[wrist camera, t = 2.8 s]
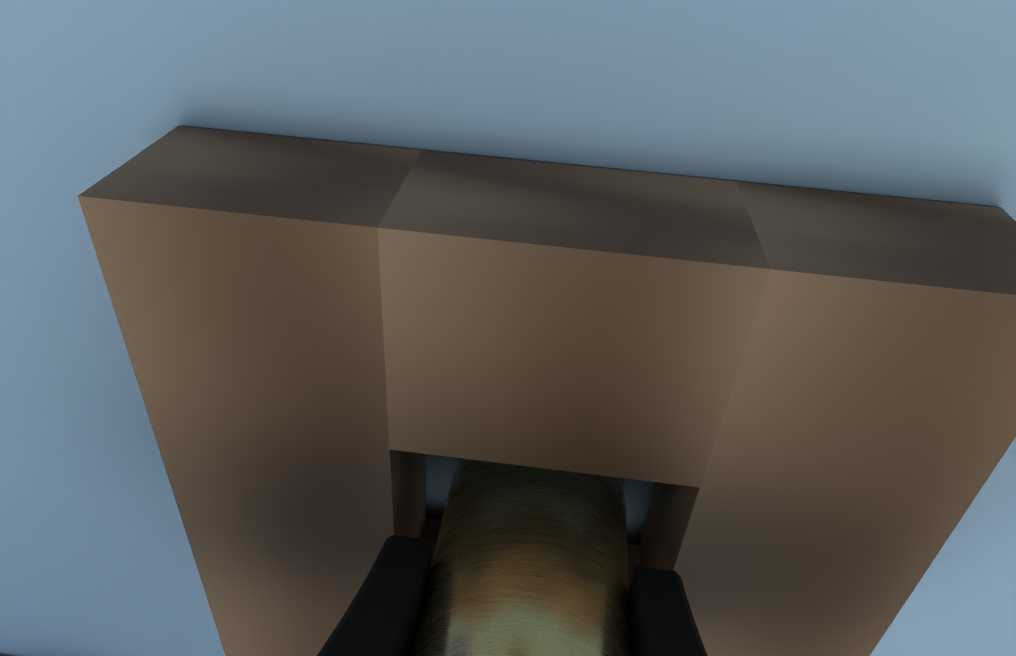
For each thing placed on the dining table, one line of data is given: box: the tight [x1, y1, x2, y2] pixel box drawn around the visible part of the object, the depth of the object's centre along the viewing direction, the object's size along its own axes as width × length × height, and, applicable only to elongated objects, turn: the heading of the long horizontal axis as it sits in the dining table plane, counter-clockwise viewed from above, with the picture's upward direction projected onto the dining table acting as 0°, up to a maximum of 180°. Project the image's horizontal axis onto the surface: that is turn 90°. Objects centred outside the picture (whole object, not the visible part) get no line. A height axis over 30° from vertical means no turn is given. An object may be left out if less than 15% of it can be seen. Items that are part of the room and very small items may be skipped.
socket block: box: [78, 126, 1016, 656], centre depth 13 cm, size 12×12×2 cm
